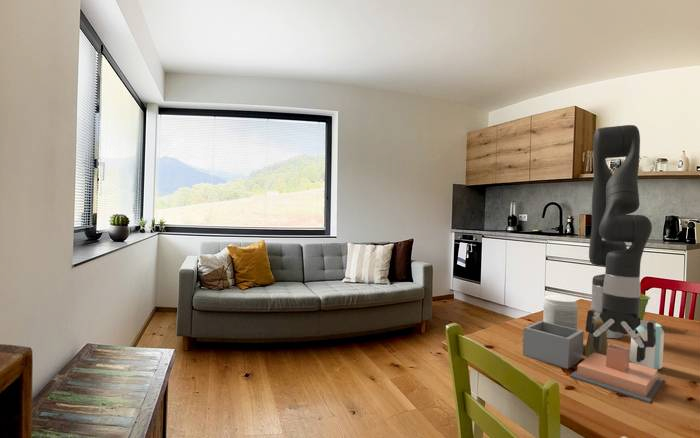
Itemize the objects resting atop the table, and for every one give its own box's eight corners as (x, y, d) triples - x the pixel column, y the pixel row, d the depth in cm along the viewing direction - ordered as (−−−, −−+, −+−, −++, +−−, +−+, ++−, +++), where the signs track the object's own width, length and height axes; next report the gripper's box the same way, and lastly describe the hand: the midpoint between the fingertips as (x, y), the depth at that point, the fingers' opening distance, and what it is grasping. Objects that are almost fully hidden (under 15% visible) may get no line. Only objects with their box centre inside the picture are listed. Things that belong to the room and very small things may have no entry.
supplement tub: (582, 345, 116) (584, 299, 116) (567, 351, 111) (569, 303, 111) (551, 336, 124) (553, 293, 124) (536, 340, 119) (538, 296, 119)
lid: (593, 361, 102) (594, 334, 102) (657, 379, 92) (658, 350, 92) (577, 374, 93) (578, 345, 93) (645, 396, 83) (647, 364, 83)
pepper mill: (579, 351, 111) (581, 315, 110) (598, 351, 111) (600, 316, 111) (594, 359, 105) (596, 321, 104) (614, 359, 105) (616, 322, 105)
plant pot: (611, 316, 151) (612, 290, 151) (647, 322, 144) (649, 294, 144) (611, 323, 142) (612, 294, 142) (650, 330, 135) (651, 300, 135)
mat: (591, 359, 105) (591, 358, 105) (663, 380, 93) (663, 378, 93) (569, 376, 93) (569, 375, 93) (649, 403, 81) (649, 401, 81)
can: (623, 359, 105) (625, 319, 105) (648, 361, 105) (650, 320, 105) (642, 370, 98) (644, 326, 98) (669, 371, 98) (671, 327, 98)
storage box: (539, 345, 114) (540, 320, 114) (582, 358, 105) (583, 330, 105) (522, 354, 107) (523, 327, 106) (567, 368, 98) (569, 339, 97)
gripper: (660, 296, 89) (656, 361, 90) (593, 286, 100) (590, 344, 100) (654, 300, 84) (650, 369, 85) (584, 289, 95) (581, 350, 95)
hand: (617, 355), depth 93 cm, fingers open, 8 cm apart
